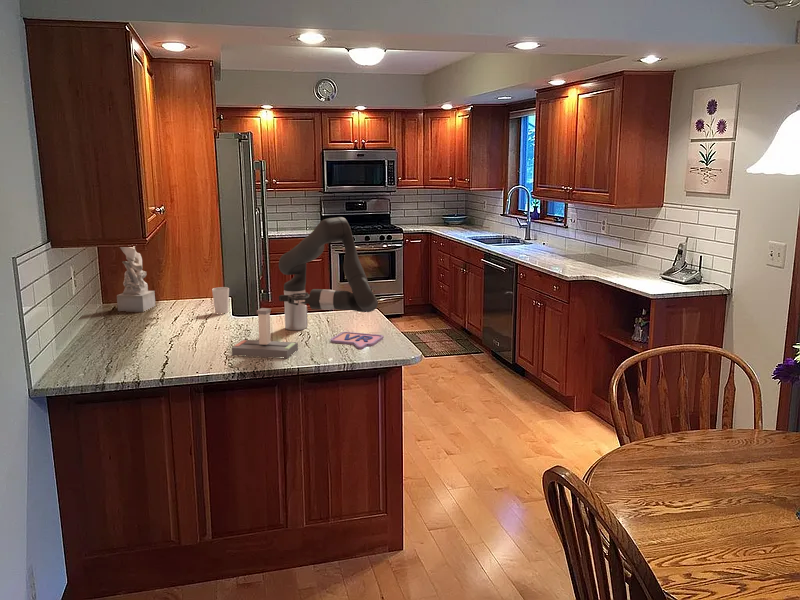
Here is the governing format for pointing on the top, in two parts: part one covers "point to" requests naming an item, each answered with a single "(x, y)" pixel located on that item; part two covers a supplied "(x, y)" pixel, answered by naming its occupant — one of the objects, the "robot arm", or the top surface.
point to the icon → (357, 339)
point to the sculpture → (134, 285)
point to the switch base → (265, 348)
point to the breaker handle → (264, 325)
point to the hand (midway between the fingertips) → (279, 298)
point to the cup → (221, 299)
